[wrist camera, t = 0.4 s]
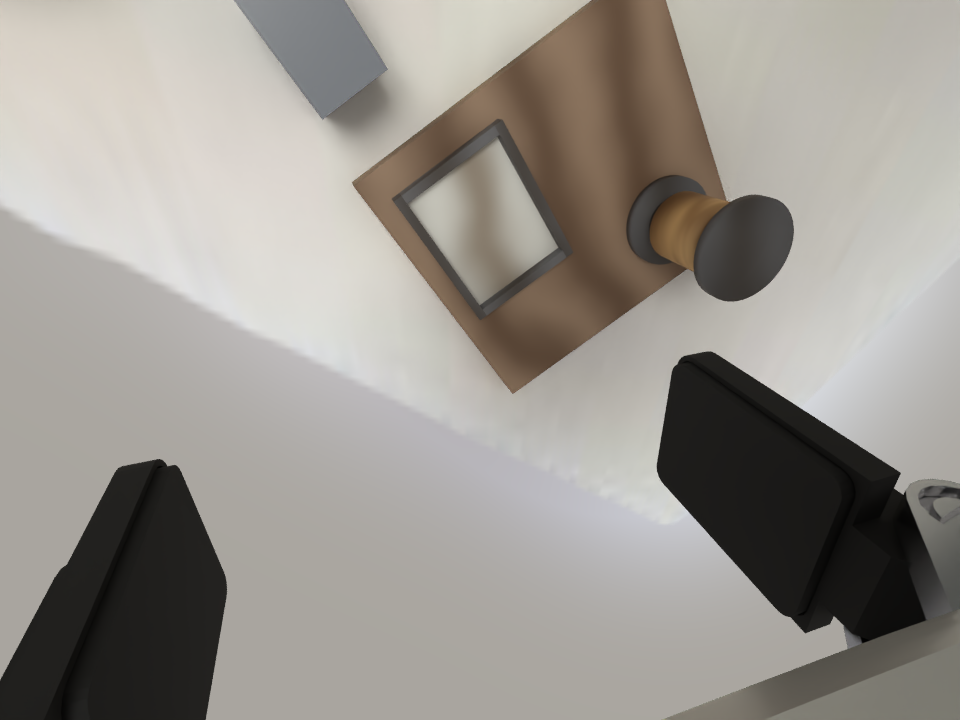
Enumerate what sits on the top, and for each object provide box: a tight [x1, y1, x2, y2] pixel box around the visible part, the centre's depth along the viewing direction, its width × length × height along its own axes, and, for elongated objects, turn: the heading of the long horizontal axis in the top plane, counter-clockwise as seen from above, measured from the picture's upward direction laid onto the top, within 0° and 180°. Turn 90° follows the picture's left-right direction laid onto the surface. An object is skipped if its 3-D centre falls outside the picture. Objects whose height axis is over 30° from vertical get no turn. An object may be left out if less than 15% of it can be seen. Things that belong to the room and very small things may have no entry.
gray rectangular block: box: [234, 0, 388, 120], centre depth 25 cm, size 4×6×6 cm, turn 32°
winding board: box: [352, 0, 794, 394], centre depth 32 cm, size 22×20×10 cm
